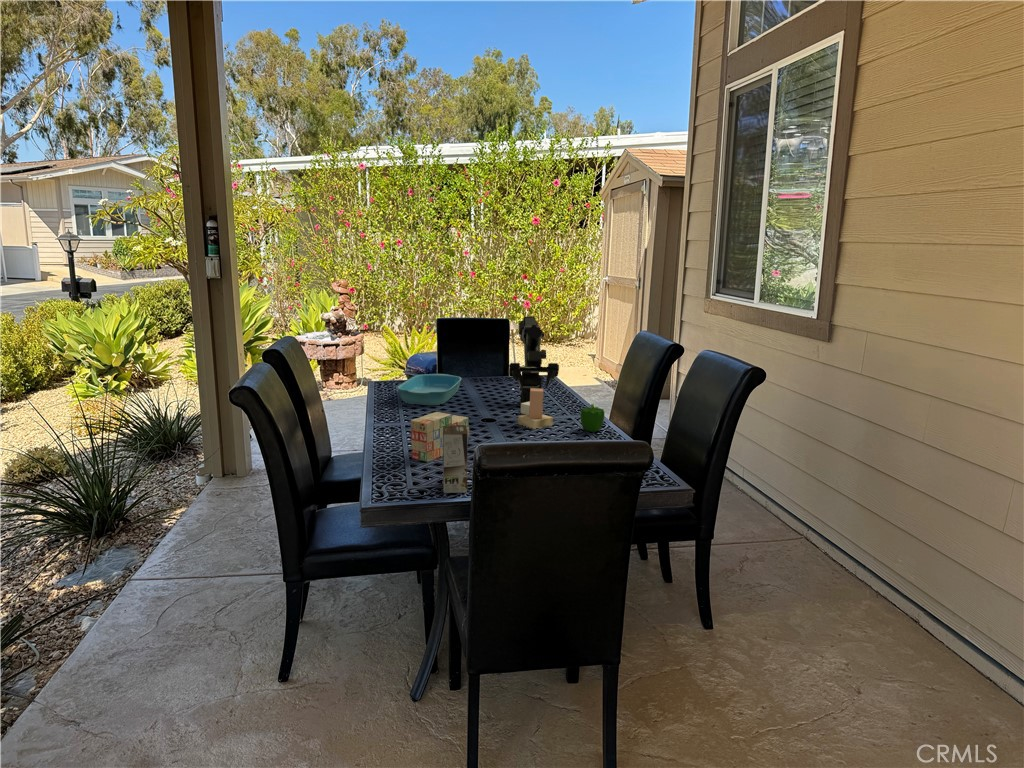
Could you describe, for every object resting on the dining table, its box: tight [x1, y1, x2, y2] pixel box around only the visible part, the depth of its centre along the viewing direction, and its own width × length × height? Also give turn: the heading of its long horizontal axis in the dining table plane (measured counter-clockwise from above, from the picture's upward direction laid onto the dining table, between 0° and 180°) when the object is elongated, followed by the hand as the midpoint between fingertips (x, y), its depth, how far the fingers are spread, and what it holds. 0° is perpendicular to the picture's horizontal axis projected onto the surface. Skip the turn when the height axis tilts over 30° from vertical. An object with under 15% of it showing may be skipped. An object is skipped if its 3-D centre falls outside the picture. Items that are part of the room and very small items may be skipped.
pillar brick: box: [529, 388, 544, 419], centre depth 236 cm, size 4×4×10 cm
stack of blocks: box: [410, 411, 470, 463], centre depth 204 cm, size 21×6×12 cm, turn 147°
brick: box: [520, 401, 530, 415], centre depth 254 cm, size 5×5×4 cm
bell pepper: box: [580, 403, 606, 433], centre depth 231 cm, size 8×8×10 cm
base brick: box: [517, 413, 554, 430], centre depth 237 cm, size 9×9×4 cm
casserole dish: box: [397, 373, 462, 406], centre depth 277 cm, size 37×22×7 cm, turn 171°
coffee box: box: [442, 425, 468, 494], centre depth 173 cm, size 9×6×16 cm
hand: (534, 388), depth 243 cm, fingers open, 9 cm apart
